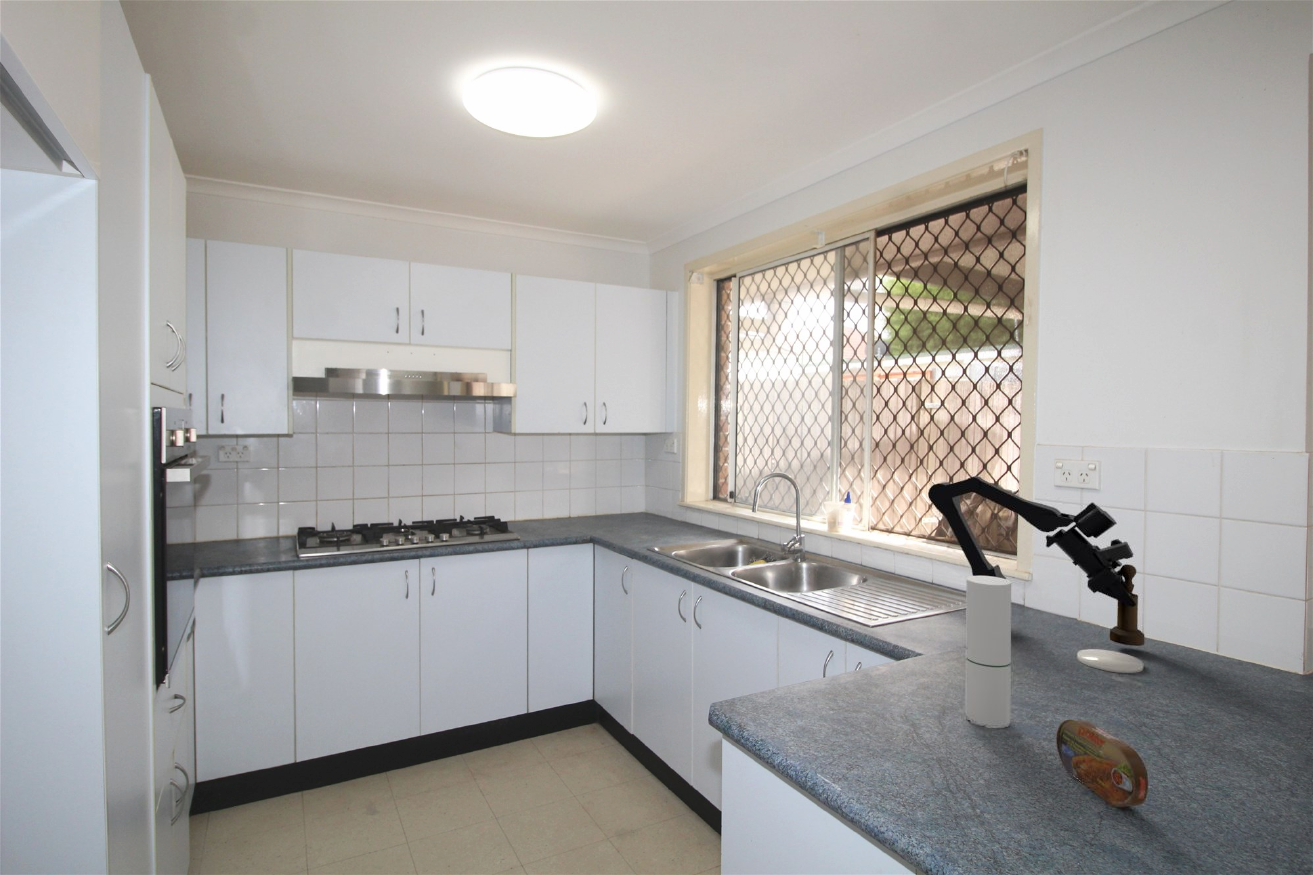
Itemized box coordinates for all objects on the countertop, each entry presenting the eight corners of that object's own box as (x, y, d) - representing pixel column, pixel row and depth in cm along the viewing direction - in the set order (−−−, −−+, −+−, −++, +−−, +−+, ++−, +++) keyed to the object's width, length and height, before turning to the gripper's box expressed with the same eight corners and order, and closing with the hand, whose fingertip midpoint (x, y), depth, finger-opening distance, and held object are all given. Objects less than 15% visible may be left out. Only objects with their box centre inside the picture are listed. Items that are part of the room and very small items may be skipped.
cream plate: (1084, 668, 143) (1084, 663, 143) (1072, 650, 155) (1072, 646, 155) (1151, 676, 139) (1151, 671, 139) (1133, 657, 150) (1133, 653, 150)
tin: (1054, 763, 104) (1054, 709, 104) (1073, 762, 104) (1073, 708, 104) (1130, 820, 89) (1131, 758, 89) (1153, 819, 89) (1153, 757, 89)
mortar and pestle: (1133, 637, 158) (1135, 562, 158) (1151, 646, 152) (1152, 568, 151) (1103, 636, 159) (1105, 561, 158) (1119, 645, 152) (1121, 567, 152)
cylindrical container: (1006, 714, 121) (1007, 577, 120) (1013, 731, 114) (1014, 586, 114) (963, 708, 123) (964, 574, 123) (967, 725, 117) (968, 583, 116)
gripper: (1106, 534, 150) (1166, 591, 143) (1111, 524, 164) (1166, 575, 158) (1064, 564, 155) (1121, 620, 148) (1073, 552, 169) (1125, 602, 163)
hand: (1135, 603), depth 154 cm, fingers closed on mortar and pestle, 4 cm apart
